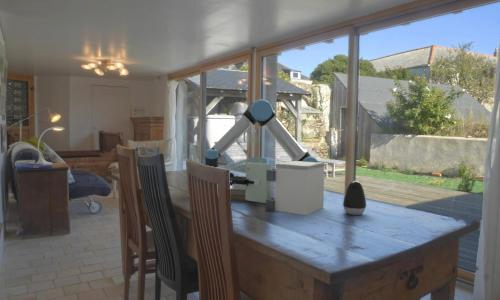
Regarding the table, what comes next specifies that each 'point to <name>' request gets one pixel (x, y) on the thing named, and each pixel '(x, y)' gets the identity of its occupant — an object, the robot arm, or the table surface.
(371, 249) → the table surface
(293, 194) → the cabinet
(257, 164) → the sage door
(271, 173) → the clip hinges
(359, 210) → the black egg-shaped speaker
